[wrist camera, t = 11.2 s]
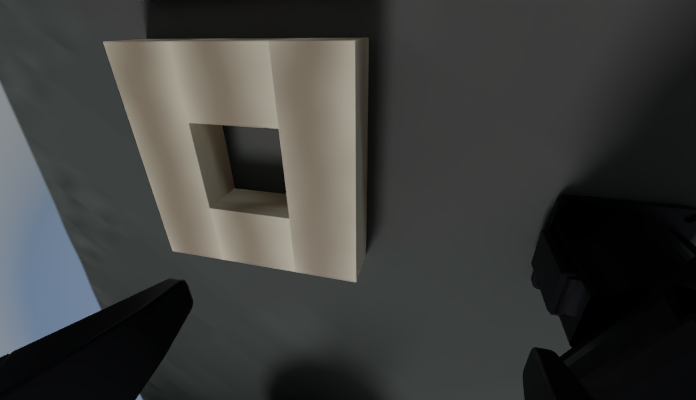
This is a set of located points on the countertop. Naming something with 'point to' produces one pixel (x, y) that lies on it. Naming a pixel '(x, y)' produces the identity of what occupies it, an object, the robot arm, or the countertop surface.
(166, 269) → the countertop surface
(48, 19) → the countertop surface
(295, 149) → the socket block
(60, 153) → the countertop surface
